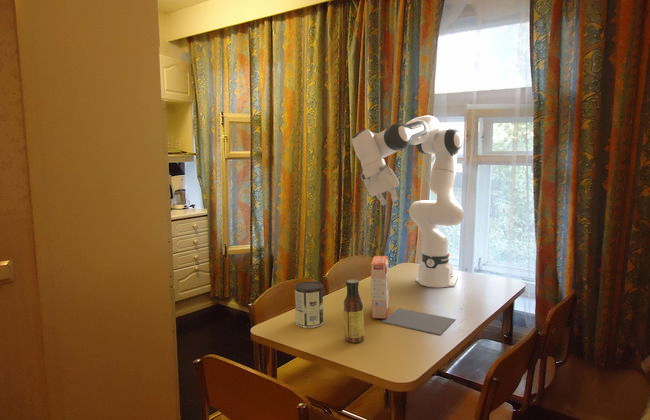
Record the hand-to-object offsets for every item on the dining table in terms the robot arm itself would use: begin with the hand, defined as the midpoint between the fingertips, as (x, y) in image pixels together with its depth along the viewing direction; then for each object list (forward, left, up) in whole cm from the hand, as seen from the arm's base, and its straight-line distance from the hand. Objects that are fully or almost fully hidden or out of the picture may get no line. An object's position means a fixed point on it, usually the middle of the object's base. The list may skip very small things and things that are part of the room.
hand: (389, 202), depth 167 cm
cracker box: (+8, 0, -42) cm, 43 cm away
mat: (+8, +15, -42) cm, 45 cm away
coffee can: (+30, -18, -42) cm, 55 cm away
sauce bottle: (+34, +3, -42) cm, 54 cm away
